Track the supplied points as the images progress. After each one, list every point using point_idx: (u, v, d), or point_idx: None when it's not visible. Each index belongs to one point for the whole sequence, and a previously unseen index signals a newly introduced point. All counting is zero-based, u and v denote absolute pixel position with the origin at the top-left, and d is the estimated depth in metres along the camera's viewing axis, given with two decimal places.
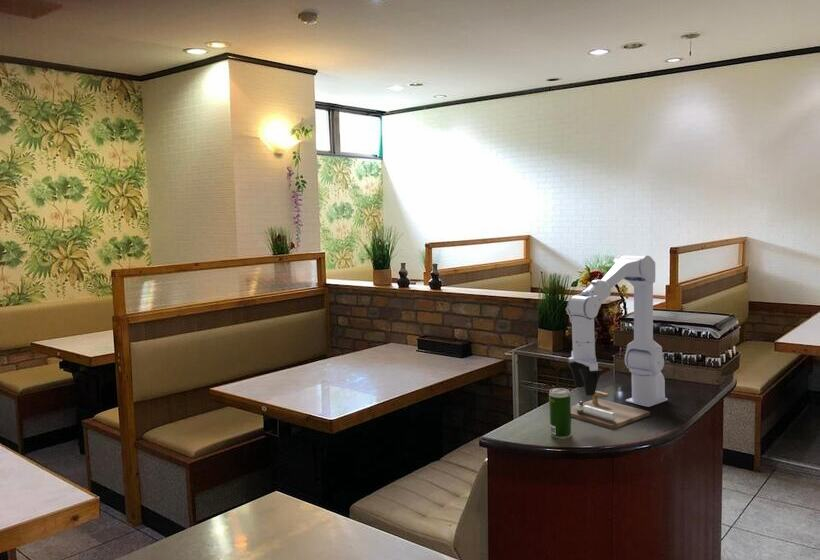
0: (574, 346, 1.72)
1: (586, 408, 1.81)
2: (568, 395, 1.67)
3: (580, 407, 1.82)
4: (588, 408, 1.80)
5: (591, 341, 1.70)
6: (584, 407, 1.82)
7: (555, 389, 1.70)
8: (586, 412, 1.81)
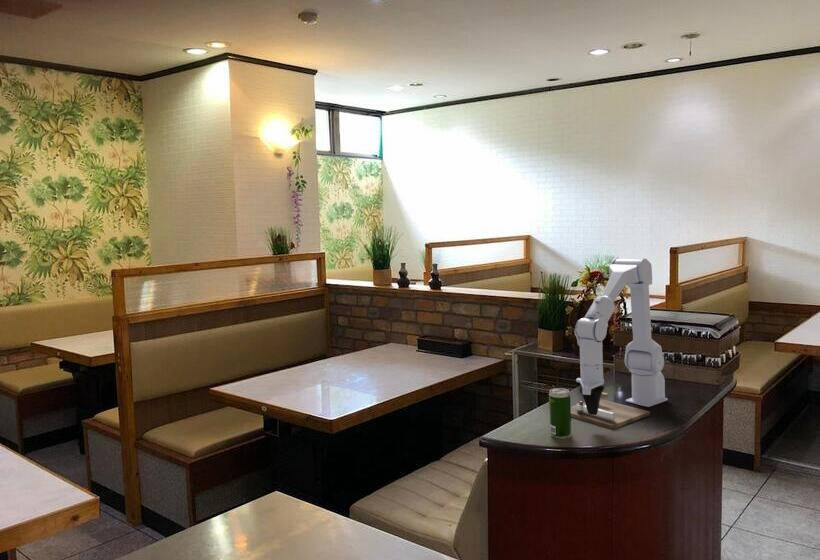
0: (580, 367, 1.72)
1: (586, 408, 1.81)
2: (568, 395, 1.67)
3: (580, 407, 1.82)
4: None
5: (600, 364, 1.69)
6: (584, 407, 1.82)
7: (555, 389, 1.70)
8: (586, 412, 1.81)
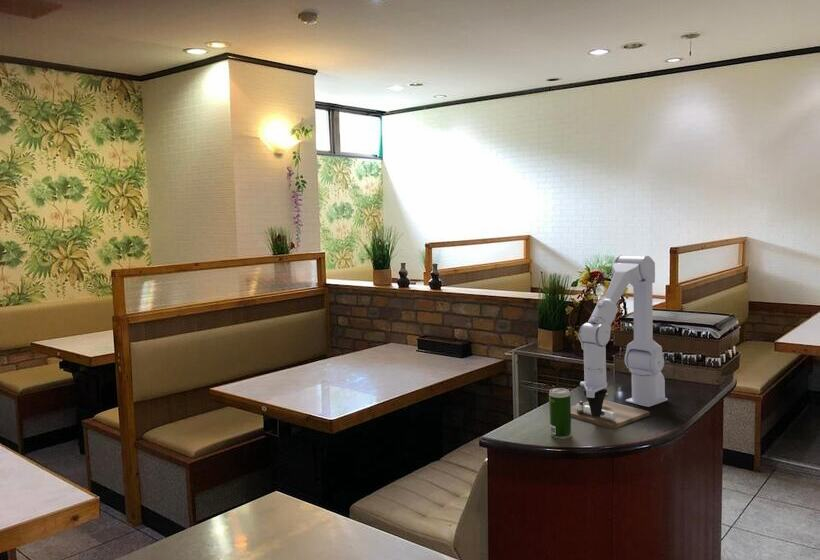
0: (584, 371, 1.76)
1: (586, 408, 1.81)
2: (568, 395, 1.67)
3: (580, 407, 1.82)
4: (588, 408, 1.80)
5: (603, 368, 1.73)
6: (584, 407, 1.82)
7: (555, 389, 1.70)
8: (586, 412, 1.81)
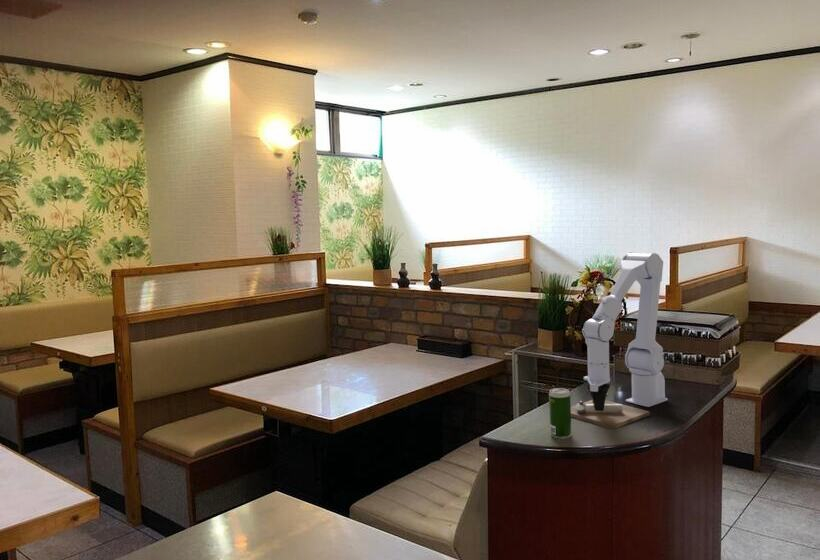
0: None
1: (590, 406, 1.82)
2: (568, 395, 1.67)
3: (584, 407, 1.82)
4: (592, 406, 1.82)
5: (605, 363, 1.77)
6: (587, 406, 1.82)
7: (555, 389, 1.70)
8: (590, 410, 1.82)
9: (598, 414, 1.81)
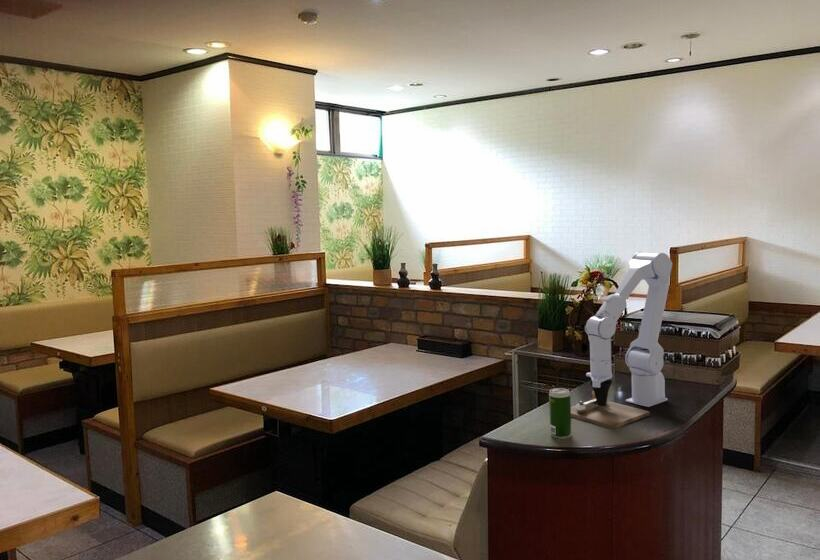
0: (590, 362, 1.85)
1: (588, 404, 1.84)
2: (568, 395, 1.67)
3: (585, 406, 1.83)
4: (590, 403, 1.85)
5: (606, 360, 1.81)
6: (586, 404, 1.84)
7: (555, 389, 1.70)
8: (588, 408, 1.84)
9: (598, 414, 1.81)
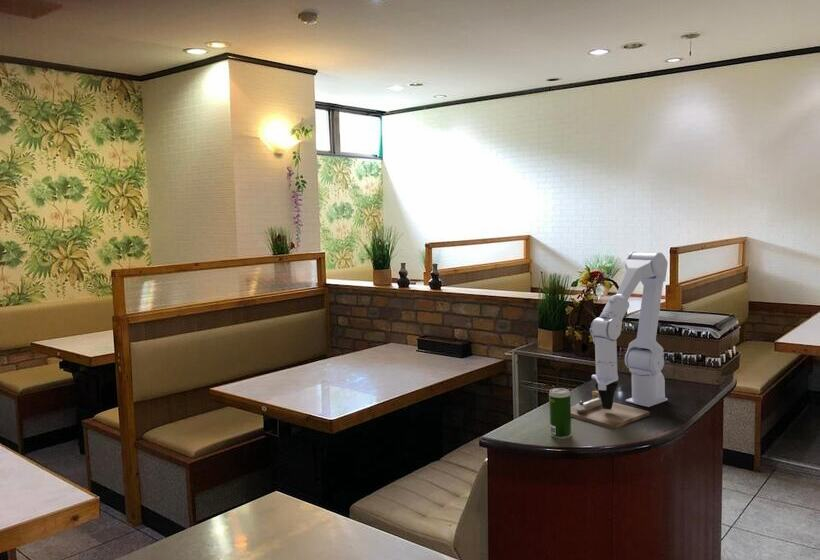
0: None
1: (588, 404, 1.84)
2: (568, 395, 1.67)
3: (586, 406, 1.83)
4: (589, 403, 1.85)
5: (613, 361, 1.78)
6: (586, 404, 1.84)
7: (555, 389, 1.70)
8: (588, 408, 1.84)
9: (598, 414, 1.81)
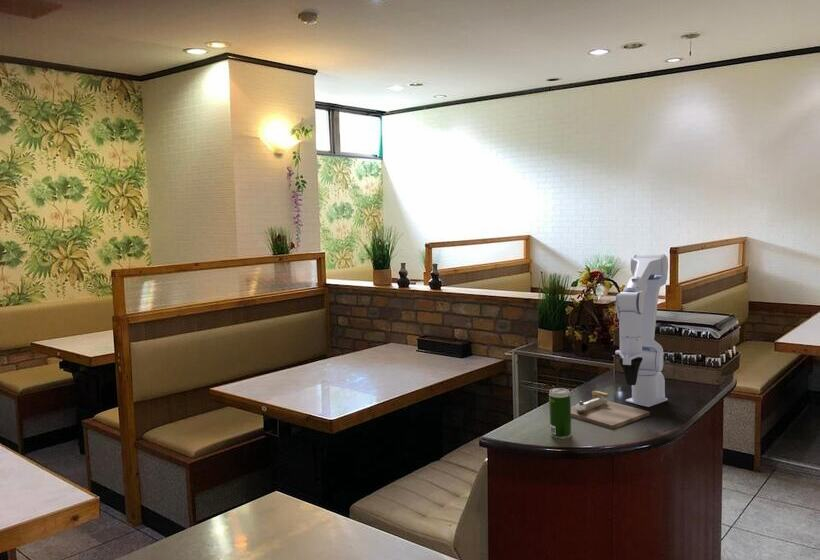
0: None
1: (588, 404, 1.84)
2: (568, 395, 1.67)
3: (586, 406, 1.83)
4: (589, 403, 1.85)
5: (640, 335, 1.75)
6: (586, 404, 1.84)
7: (555, 389, 1.70)
8: (588, 408, 1.84)
9: (598, 414, 1.81)
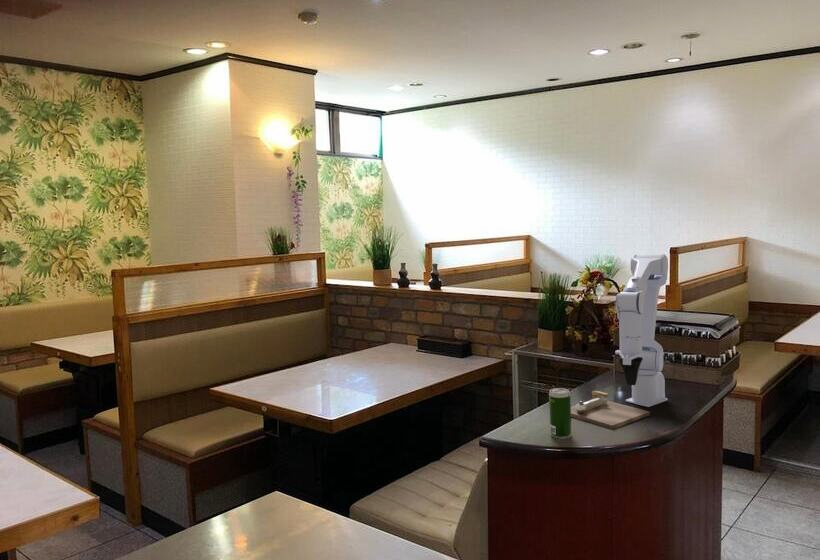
0: None
1: (588, 404, 1.84)
2: (568, 395, 1.67)
3: (586, 406, 1.83)
4: (589, 403, 1.85)
5: (640, 335, 1.75)
6: (586, 404, 1.84)
7: (555, 389, 1.70)
8: (588, 408, 1.84)
9: (598, 414, 1.81)
